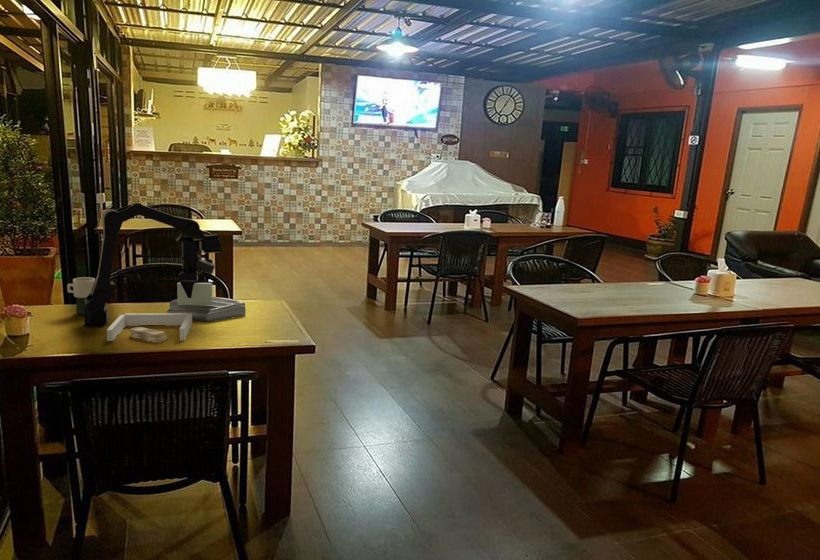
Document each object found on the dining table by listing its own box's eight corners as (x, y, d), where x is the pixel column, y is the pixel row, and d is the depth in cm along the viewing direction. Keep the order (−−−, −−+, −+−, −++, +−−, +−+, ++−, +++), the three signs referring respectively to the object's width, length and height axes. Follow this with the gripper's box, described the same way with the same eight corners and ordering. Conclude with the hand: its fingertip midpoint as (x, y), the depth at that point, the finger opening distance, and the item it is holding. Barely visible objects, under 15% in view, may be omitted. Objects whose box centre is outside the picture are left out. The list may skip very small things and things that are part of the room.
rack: (107, 341, 184) (106, 329, 184) (122, 324, 203) (121, 313, 202) (184, 340, 190) (184, 328, 189) (192, 324, 208) (192, 313, 208)
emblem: (244, 291, 241) (245, 308, 215) (244, 304, 242) (245, 322, 216) (171, 292, 233) (163, 310, 207) (172, 305, 234) (164, 324, 208)
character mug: (104, 310, 219) (102, 276, 216) (100, 316, 212) (98, 280, 209) (71, 311, 215) (69, 277, 213) (66, 316, 209) (64, 281, 206)
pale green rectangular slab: (177, 304, 216) (177, 283, 215) (178, 303, 218) (178, 282, 217) (211, 304, 219) (211, 284, 217) (212, 303, 221) (212, 282, 219)
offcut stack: (129, 338, 191) (129, 329, 190) (139, 335, 194) (139, 326, 194) (157, 344, 186) (157, 335, 185) (167, 341, 190) (166, 332, 189)
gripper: (211, 258, 207) (211, 301, 210) (215, 250, 225) (216, 289, 228) (177, 257, 204) (178, 301, 207) (185, 249, 222) (185, 289, 225)
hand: (191, 295), depth 217 cm, fingers open, 9 cm apart
